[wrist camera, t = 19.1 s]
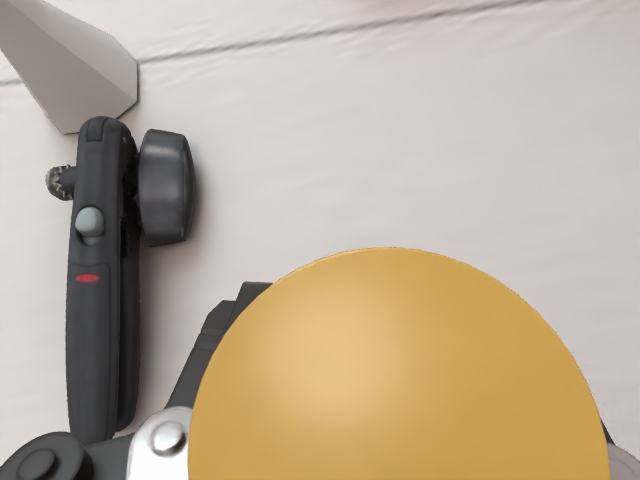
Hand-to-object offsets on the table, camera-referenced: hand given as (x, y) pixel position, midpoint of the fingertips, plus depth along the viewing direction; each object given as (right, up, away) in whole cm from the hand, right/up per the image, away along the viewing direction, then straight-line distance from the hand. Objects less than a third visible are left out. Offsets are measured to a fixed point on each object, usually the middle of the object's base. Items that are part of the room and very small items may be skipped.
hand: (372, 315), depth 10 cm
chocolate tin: (0, -3, +4) cm, 4 cm away
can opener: (-12, 0, +14) cm, 19 cm away
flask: (-17, +12, +17) cm, 27 cm away
